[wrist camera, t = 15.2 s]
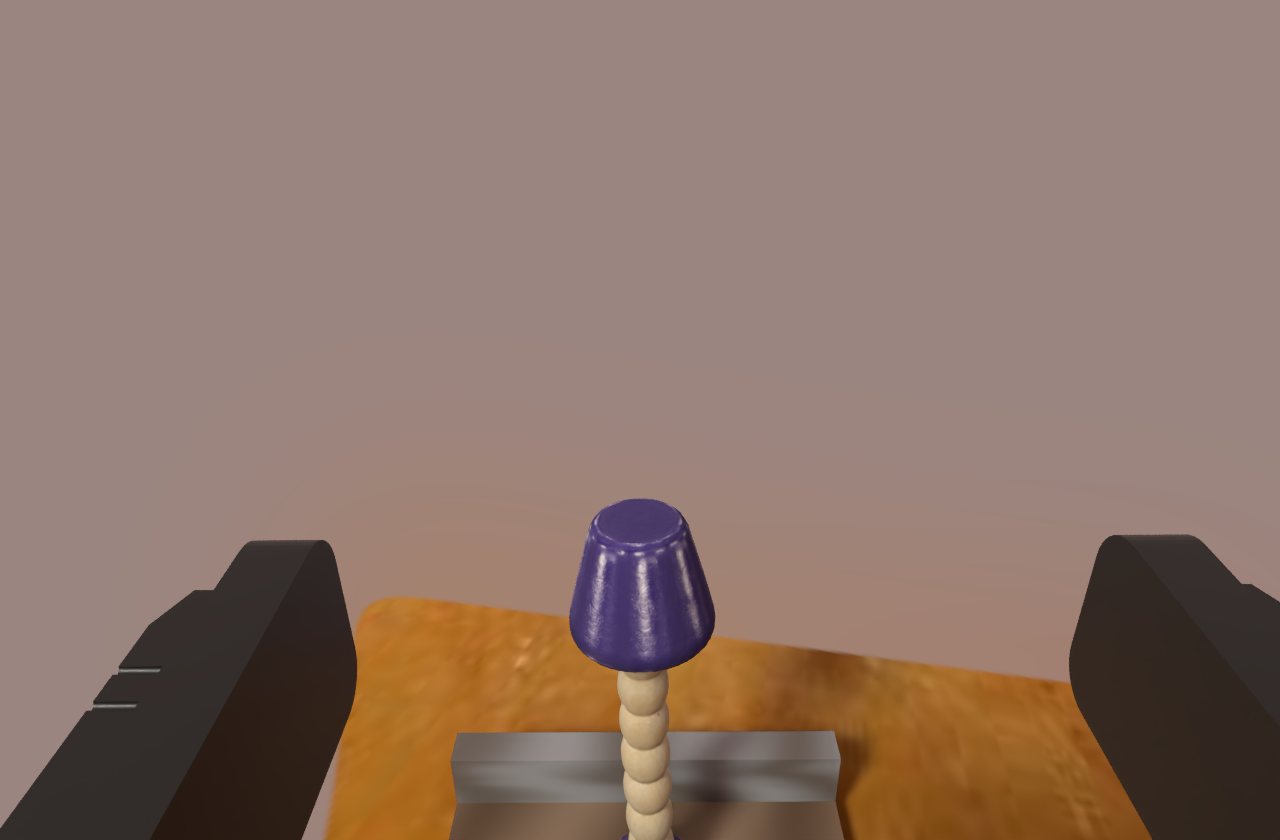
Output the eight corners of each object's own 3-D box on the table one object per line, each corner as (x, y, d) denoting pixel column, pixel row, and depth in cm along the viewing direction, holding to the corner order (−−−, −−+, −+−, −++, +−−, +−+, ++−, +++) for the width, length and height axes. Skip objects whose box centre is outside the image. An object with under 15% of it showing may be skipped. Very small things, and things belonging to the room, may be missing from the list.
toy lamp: (561, 899, 34) (531, 536, 26) (628, 810, 37) (618, 466, 29) (671, 966, 31) (672, 589, 24) (731, 864, 35) (749, 507, 27)
